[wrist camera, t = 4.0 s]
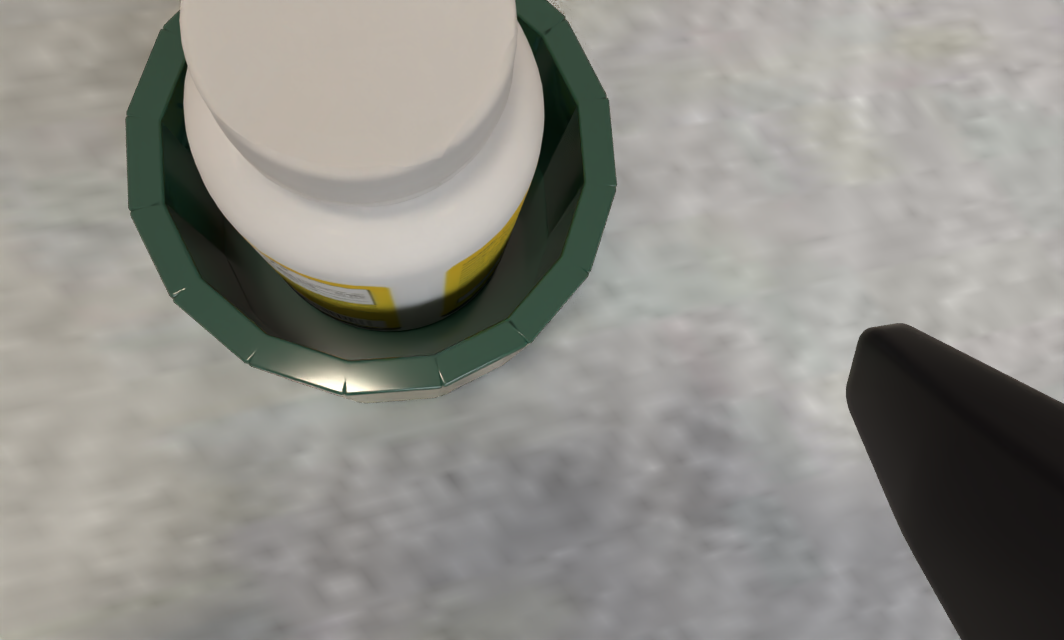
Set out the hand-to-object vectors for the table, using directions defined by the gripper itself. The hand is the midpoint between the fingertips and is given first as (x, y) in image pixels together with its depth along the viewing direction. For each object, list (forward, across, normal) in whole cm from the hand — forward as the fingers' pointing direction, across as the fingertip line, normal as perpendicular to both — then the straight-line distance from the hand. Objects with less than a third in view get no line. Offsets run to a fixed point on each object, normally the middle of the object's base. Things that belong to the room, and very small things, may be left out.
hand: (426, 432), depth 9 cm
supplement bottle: (+12, 0, +5) cm, 12 cm away
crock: (+12, 0, +5) cm, 13 cm away
